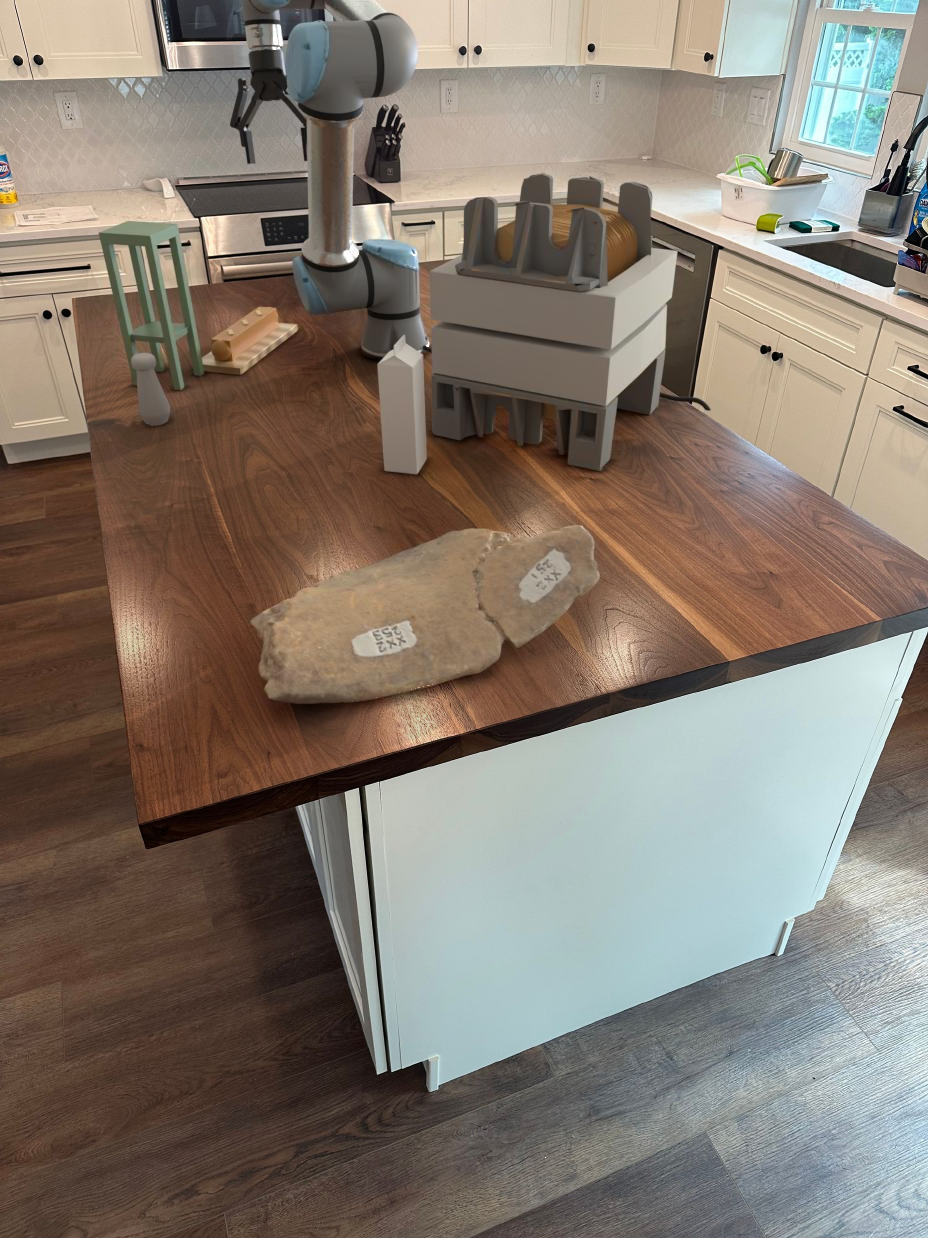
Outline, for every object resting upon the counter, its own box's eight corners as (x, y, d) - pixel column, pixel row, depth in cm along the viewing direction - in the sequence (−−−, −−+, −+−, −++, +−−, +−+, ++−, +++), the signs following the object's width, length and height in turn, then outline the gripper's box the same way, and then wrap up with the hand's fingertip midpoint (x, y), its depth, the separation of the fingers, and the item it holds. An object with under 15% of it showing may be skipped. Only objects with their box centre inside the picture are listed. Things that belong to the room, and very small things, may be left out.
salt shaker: (178, 418, 173) (165, 352, 166) (159, 429, 169) (144, 362, 161) (155, 413, 175) (140, 347, 168) (134, 424, 171) (118, 357, 163)
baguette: (228, 364, 192) (224, 342, 190) (209, 362, 193) (205, 341, 191) (282, 323, 214) (280, 303, 212) (265, 322, 215) (263, 302, 213)
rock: (229, 622, 121) (285, 752, 102) (211, 558, 114) (268, 685, 96) (524, 530, 135) (621, 630, 116) (523, 468, 128) (626, 563, 109)
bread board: (240, 374, 192) (239, 368, 191) (194, 370, 194) (193, 363, 193) (298, 330, 215) (297, 324, 214) (256, 326, 217) (255, 320, 217)
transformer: (661, 406, 177) (691, 178, 153) (600, 473, 153) (624, 217, 129) (506, 376, 190) (511, 163, 166) (428, 434, 166) (421, 196, 142)
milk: (384, 471, 154) (374, 344, 142) (394, 456, 159) (386, 332, 146) (418, 474, 153) (411, 347, 140) (427, 459, 158) (422, 334, 145)
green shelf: (180, 390, 185) (150, 235, 167) (133, 385, 187) (98, 232, 170) (204, 373, 193) (177, 223, 175) (158, 368, 195) (127, 220, 177)
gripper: (204, 52, 190) (220, 164, 200) (314, 43, 185) (326, 159, 195) (220, 55, 197) (235, 164, 206) (327, 47, 191) (338, 159, 201)
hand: (279, 162), depth 201 cm, fingers open, 13 cm apart
